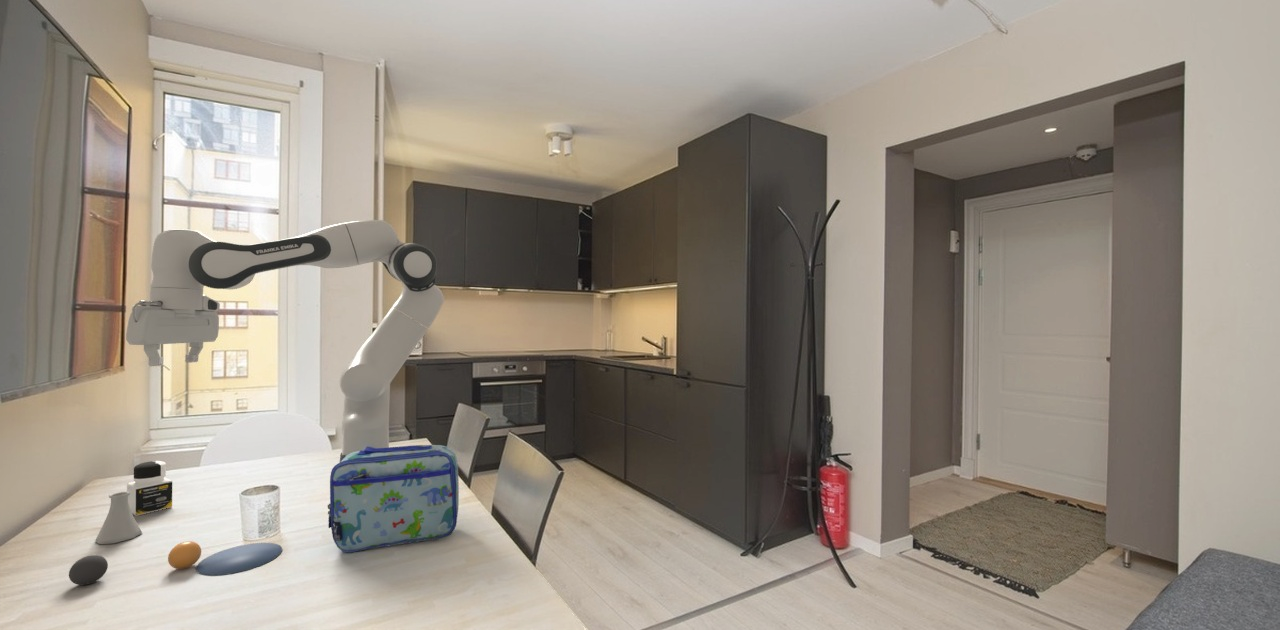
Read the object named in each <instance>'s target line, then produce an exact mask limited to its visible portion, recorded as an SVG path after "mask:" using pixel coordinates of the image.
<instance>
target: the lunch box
mask: <svg viewBox="0 0 1280 630" xmlns="http://www.w3.org/2000/svg"><path fill="white" fill-rule="evenodd" d="M458 465H459V464H458V458H457V454H456V453H455V451H454V450H453V449H452V448H450V447H448V446H446V445H441V444H416V445H415V444H414V445H403V446H402V445H401V446H391V447H390V446H389V447H388V448H373V447H368V446H367V447H366V448H365V450H361V451H356V452H353V453H350V454H349V455H347V456H345V457H344V458H343V460H342V461H341V462H340V461H339V462H338V463H337V464H335V465H334V466H333V467H332V469H331V471H330V477H329V499H330V501H329V503H328V504H327V509H328V511H327V515H328V521H327V522H328V529H330V528H331V535H332V538H333V539H332V540H333V541H334V542H333V543H334V544H335V545H336V547H337V548H338V549H339V550H340V551H342V552H343V553H347V552H350V553H355V552H359V551H363V550H368V549H374V548H375V549H376V548H382V547H389V546H388V545H390V546H394V545H395V544H397V545H401V544H402V543H404V544H410V543H409V542H411V543H416V541H418V542H424V541H431V540H436V539H442V538H445V537H446V538H447V537H449V536H450V535H451V534H453V532H454V531H455V529H456V527H457V523H458V522H457V520H458V513H459V501H460V499H459V497H460V496H459V493H460V491H459V489H460V487H459V483H460V482H459V467H458ZM402 545H403V544H402ZM395 546H396V545H395Z"/></svg>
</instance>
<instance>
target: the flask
mask: <svg viewBox="0 0 1280 630" xmlns="http://www.w3.org/2000/svg"><path fill="white" fill-rule="evenodd" d="M128 495H130V492H127V491H119V492H114V493H111V494H110V495H108V498H109V499H110V505H109V510H108V513H107V516H106V518H105V519H104V522H103V524H102V526H101V528H100V531H99V532H98V534H97V536H96V538H95V541H94V542H95V543H98V544H99V545H107V544H118V543H120V542H123V541H124V542H125V541H128V540H131V539H134V538H135V537H138V536H139V535H142V534H143V531H142V530H141V528H140V525H139V524H138V523H137V521H136V519H135V517H134V514H132V513H131V511H130V508H129V504H128Z"/></svg>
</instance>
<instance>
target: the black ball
mask: <svg viewBox="0 0 1280 630" xmlns="http://www.w3.org/2000/svg"><path fill="white" fill-rule="evenodd" d="M108 566H109V563H108V561H107V559H106V558H105V557H103V556H101V555H98V554H92V555H91V554H90V555H87V556H84V557H82V558H80V559H78V560H77V561H76V562H74V563H73V564H72V565H71V567H70V568H69V572H68V578H69V581H71V583H73V584H75V585H78V586H85V585H90V584H94V583H95V582H97V581H99V580H100V579H102V577H103V576H104V575H105V574H106V572H107V570H108Z"/></svg>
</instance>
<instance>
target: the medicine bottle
mask: <svg viewBox="0 0 1280 630" xmlns="http://www.w3.org/2000/svg"><path fill="white" fill-rule="evenodd" d="M166 468H167V463H166V462H165V461H161V460H152V461H146V462H145V461H144V462H141V463H139V464H137V465H134V467H133V481H130V482H128V483H127V484H126V492H130V495H128V504H129V508H130V511H131V513H132V515H133V516H135V517H138V516H142V515H146V513H147V514H150V512H151V513H155V512H159V511H163V510H167V509H171V508H173V480H171V479H169V478H168V477H167V476H166V474H167V469H166ZM166 508H167V509H166ZM162 509H163V510H162ZM158 510H159V511H158ZM154 511H155V512H154Z"/></svg>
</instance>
